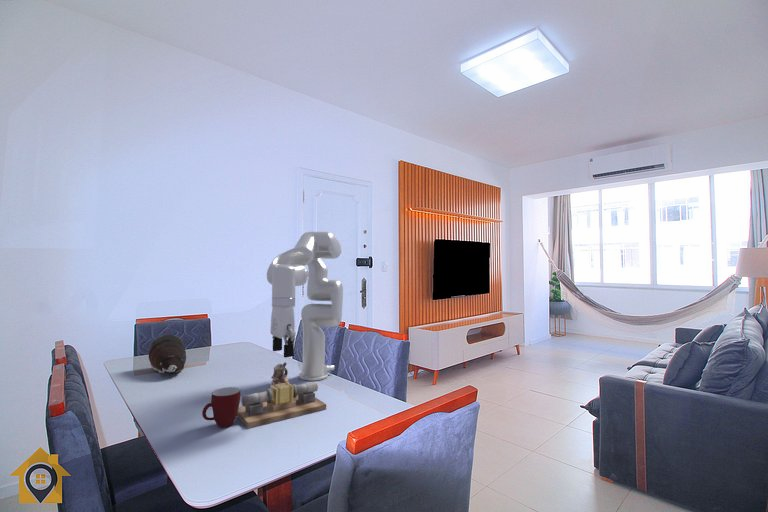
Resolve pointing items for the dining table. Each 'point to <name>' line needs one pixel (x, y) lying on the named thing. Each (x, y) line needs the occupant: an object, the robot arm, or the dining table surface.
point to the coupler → (282, 393)
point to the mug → (224, 406)
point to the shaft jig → (279, 406)
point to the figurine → (280, 374)
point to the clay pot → (167, 354)
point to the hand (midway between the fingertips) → (282, 353)
